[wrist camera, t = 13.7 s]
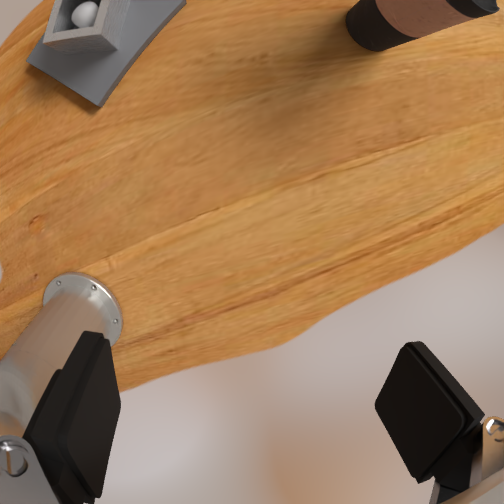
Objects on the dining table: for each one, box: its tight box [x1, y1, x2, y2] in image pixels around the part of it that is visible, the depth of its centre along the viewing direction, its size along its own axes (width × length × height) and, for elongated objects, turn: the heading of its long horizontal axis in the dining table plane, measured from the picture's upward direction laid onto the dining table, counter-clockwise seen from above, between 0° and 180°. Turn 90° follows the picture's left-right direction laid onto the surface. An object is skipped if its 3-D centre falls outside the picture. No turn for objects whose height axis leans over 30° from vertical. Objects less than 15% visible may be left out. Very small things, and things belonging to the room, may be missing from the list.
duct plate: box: [26, 0, 187, 107], centre depth 23 cm, size 16×14×6 cm
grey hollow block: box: [43, 0, 130, 55], centre depth 21 cm, size 12×7×6 cm, turn 173°
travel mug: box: [346, 0, 500, 51], centre depth 20 cm, size 8×8×20 cm
